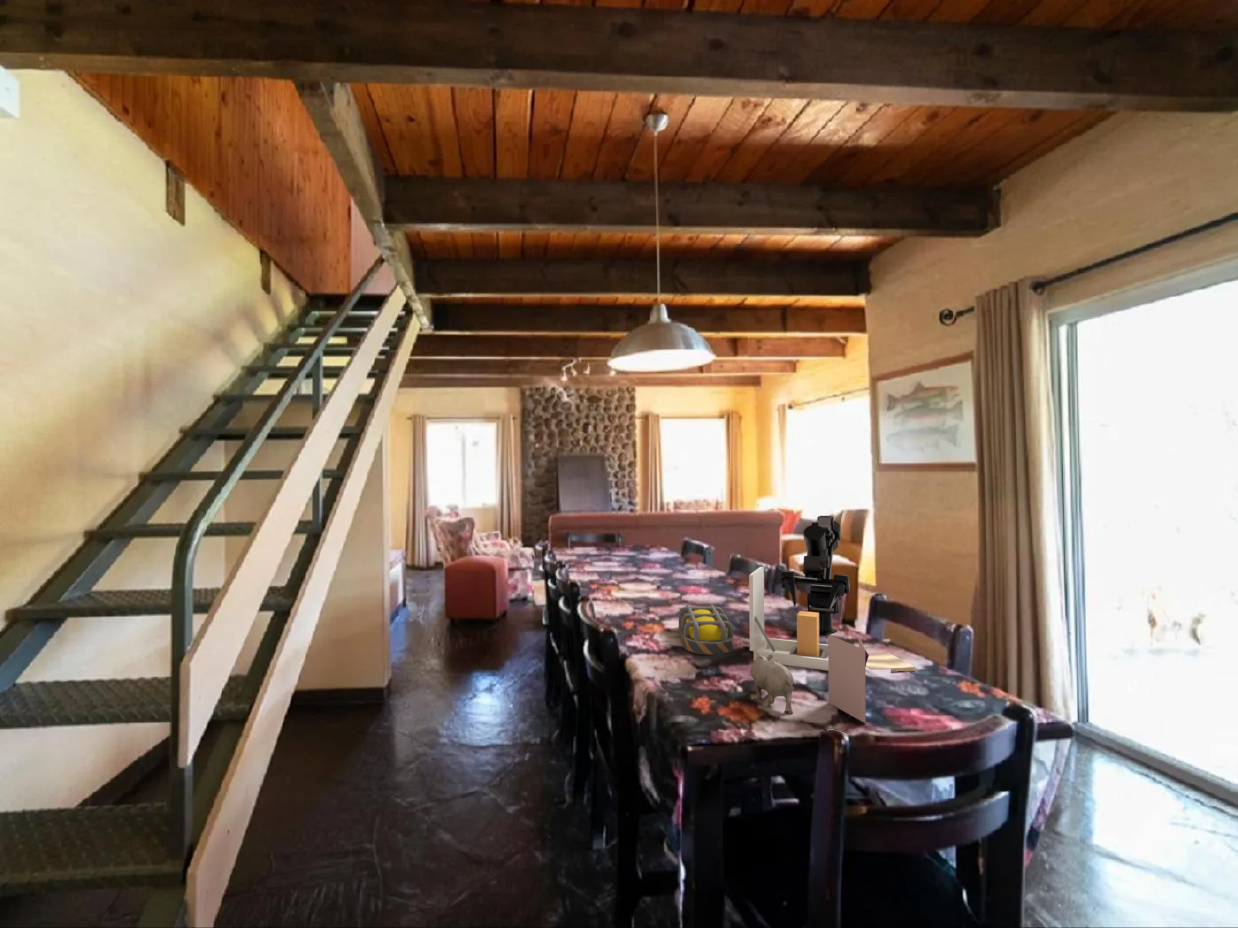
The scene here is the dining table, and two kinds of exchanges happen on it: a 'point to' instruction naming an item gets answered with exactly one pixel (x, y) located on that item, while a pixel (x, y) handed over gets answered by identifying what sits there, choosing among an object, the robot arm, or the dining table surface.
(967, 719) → the dining table surface
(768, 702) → the rhinoceros figurine
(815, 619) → the block
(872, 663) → the wooden board
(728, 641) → the cage light
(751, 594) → the equipment case
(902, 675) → the dining table surface
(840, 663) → the greeting card
